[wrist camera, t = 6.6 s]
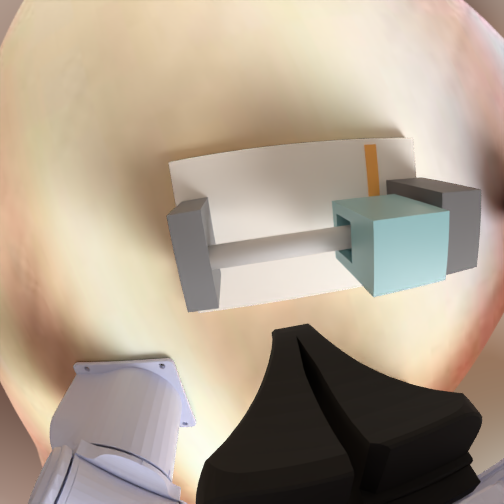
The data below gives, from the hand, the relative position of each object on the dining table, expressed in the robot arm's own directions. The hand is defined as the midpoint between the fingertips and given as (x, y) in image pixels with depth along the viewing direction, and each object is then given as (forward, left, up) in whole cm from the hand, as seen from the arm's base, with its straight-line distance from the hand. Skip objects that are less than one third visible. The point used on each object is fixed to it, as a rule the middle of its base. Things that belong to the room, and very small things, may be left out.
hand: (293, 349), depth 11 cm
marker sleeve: (+6, +2, -7) cm, 9 cm away
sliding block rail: (+3, +2, -10) cm, 11 cm away
